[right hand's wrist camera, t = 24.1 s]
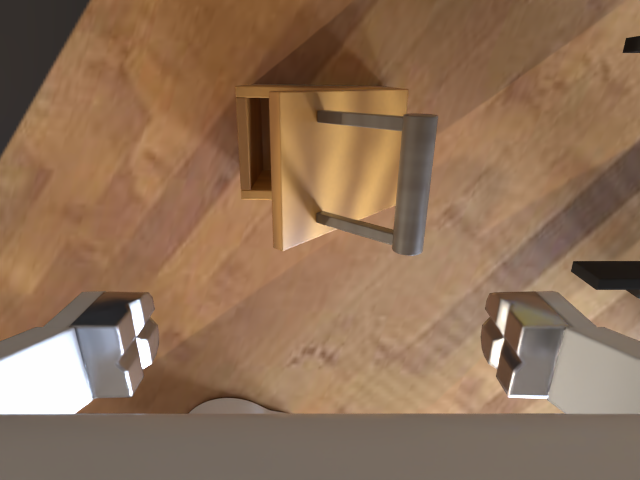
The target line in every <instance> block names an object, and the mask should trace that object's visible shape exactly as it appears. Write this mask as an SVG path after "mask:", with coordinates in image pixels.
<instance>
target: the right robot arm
mask: <svg viewBox="0 0 640 480" xmlns="http://www.w3.org/2000/svg"><path fill="white" fill-rule="evenodd" d="M154 310H155V307H154V302H153V297H152V296H151V295H150V294H149V292H106V291H94V292H82V293H81V294H80V295H79V296H77V297H76V298H75V299H74V300H73V301H72V302H71V303H70V304H68V305H67V306H66V307H65V308H64V309H63V310H62V311H61V312H59V313H58V314H57V315H56V316H55V317H54V318H53V319H52V320H50V321H49V322H48V323H47V324H46V325H45V326H44V327H35V328H33V329H30V330H28V331H25V332H23V333H20V334H18V335H15V336H13V337H10V338H8V339H5V340H3V341H0V480H640V341H637V340H635V339H632V338H630V337H627V336H625V335H622V334H620V333H617V332H615V331H612V330H610V329H607V328H605V327H596V326H595V325H594V324H593V323H592V322H591V321H590V320H588V319H587V318H586V317H585V316H584V315H583V314H582V313H581V312H580V311H578V310H577V309H576V308H575V307H574V306H573V305H572V304H571V303H569V302H568V301H567V300H566V299H565V298H564V297H563V296H562V295H560V294H559V293H558V292H554V291H543V292H495V293H490V294H489V296H488V298H487V301H486V307H485V310H486V311H487V313H488V314H489V316H490V318H489V319H488V320H487V321H486V322H485V323H484V324H483V325H482V331H481V345H482V351H483V354H484V357H485V358H486V360H487V362H488V364H490V365H492V366H493V367H495V368H496V369H497V374H496V377H497V379H498V381H499V382H500V384H501V386H502V387H503V389H504V391H505V392H506V394H507V396H508V397H520V398H547V400H548V401H549V402H551V403H552V404H553V405H555V406H556V407H557V408H559V409H560V410H561V411H563V412H564V413H566V414H287V413H283V412H277V411H271V410H268V409H266V408H264V407H262V406H260V405H258V404H255V403H253V402H250V401H247V400H243V399H236V398H220V399H214V400H210V401H207V402H205V403H202V404H200V405H198V406H197V407H195V408H194V409H193V410H192V411H191V412H190V413H189V414H75V413H76V412H77V411H79V410H80V409H81V408H83V407H84V406H85V405H87V404H88V403H89V402H91V401H92V400H93V399H92V398H119V397H132V396H133V394H134V392H135V391H136V389H137V387H138V386H139V384H140V382H141V381H142V379H143V377H144V374H143V369H144V368H145V367H147V366H148V365H150V364H152V362H153V360H154V358H155V356H156V354H157V350H158V346H159V330H158V325H157V324H156V323H155V322H154V321H153V320H152V319H151V318H150V316H151V314H152V313H153V311H154Z"/></svg>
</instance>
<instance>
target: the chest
mask: <svg viewBox="0 0 640 480" xmlns="http://www.w3.org/2000/svg"><path fill="white" fill-rule="evenodd" d="M359 89H400V88H393V87H387V86H341V85H278V84H251V85H241V86H235V93H236V97H237V98H236V111H237V129H238V146H239V163H240V181H241V198H242V199H255V200H272V185H271V151H270V116H269V92H270V91H304V90H359Z"/></svg>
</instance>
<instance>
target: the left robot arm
mask: <svg viewBox="0 0 640 480" xmlns="http://www.w3.org/2000/svg"><path fill="white" fill-rule="evenodd" d="M623 53H640V36H637V37H630V38H626V41H625V45H624V49H623ZM571 272H573V273H574V274H575V275H577V276H578V277H579V278H581V279H582V280H584V281H585V282H586V283H588V284H589V285H590V286H592V287H593V288H595V289H596V290H627V291H628V292H630V293H631V294H633V295H634V296H636V297H637V298H639V299H640V261H573V265H572V269H571Z"/></svg>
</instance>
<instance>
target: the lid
mask: <svg viewBox="0 0 640 480" xmlns="http://www.w3.org/2000/svg"><path fill="white" fill-rule="evenodd" d="M407 100H408V89H359V90H304V91H270V92H269V116H270V151H271V185H272V219H273V247H274V248H275V249H278V250H281V251H284V250H287V249H289V248H292V247H294V246H297V245H299V244H302V243H304V242H306V241H309V240H311V239H314V238H316V237H319V236H321V235H324V234H326V233H329V232H331V231H333V230H336V229H339V230H343V231H346V232H350V233H353V234H356V235H360V236H363V237H366V238H370V239H373V240H377V241H380V242H383V243H387V244H390V245H392V250H393V251H394V252H396V253H398V254H402V255H418V254H420V253H422V251H423V243H424V234H425V226H426V217H427V208H428V200H429V191H430V182H431V174H432V165H433V157H434V148H435V139H436V131H437V122H438V116H437V115H433V114H406V112H407ZM395 205H396V206H395ZM392 206H395V218H394V229H393V230H392V229H388V228H385V227H381V226H377V225H373V224H370V223H366V222H362V221H359V220H360V219H363V218H365V217H368V216H370V215H373V214H375V213H378V212H380V211H383V210H385V209H388V208H390V207H392Z"/></svg>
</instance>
